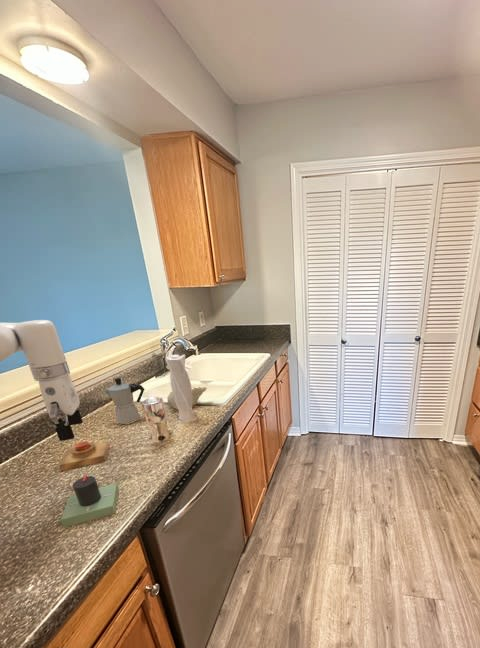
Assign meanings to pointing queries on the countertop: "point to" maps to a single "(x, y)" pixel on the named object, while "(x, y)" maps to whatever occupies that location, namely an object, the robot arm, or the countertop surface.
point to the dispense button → (82, 446)
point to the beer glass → (156, 419)
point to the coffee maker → (125, 400)
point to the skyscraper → (181, 386)
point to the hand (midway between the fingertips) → (72, 431)
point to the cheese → (195, 396)
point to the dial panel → (90, 507)
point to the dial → (87, 491)
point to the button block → (84, 456)
